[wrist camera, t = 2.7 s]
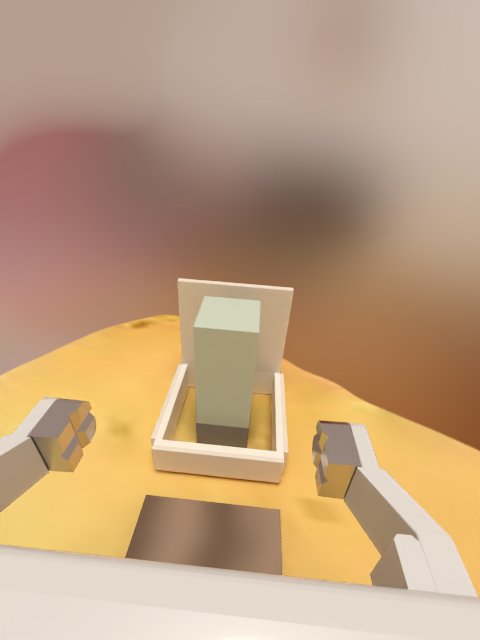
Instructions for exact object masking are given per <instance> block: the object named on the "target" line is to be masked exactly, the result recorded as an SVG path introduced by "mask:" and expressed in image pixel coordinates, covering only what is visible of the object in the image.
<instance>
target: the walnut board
mask: <svg viewBox="0 0 480 640" xmlns="http://www.w3.org/2000/svg"><path fill="white" fill-rule="evenodd" d="M125 558H130V559H139V560H148V561H157V562H166V563H175V564H184V565H193V566H202V567H211V568H220V569H229V570H238V571H247V572H256V573H265V574H274V575H282V555H281V523H280V510H277V509H268V508H259V507H250V506H241V505H232V504H223V503H214V502H205V501H196V500H187V499H178V498H169V497H160V496H151V495H146V497H145V500H144V503H143V506H142V509H141V512H140V515H139V518H138V521H137V524H136V527H135V530H134V533H133V536H132V539H131V542H130V545H129V548H128V551H127V554H126V557H125Z"/></svg>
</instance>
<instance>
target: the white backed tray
mask: <svg viewBox="0 0 480 640" xmlns="http://www.w3.org/2000/svg"><path fill="white" fill-rule="evenodd" d="M293 292H294V290H293V288H287V287H275V286H263V285H251V284H239V283H228V282H216V281H204V280H191V279H181V278H180V279H178V298H179V314H180V331H181V348H182V364H179V365H178V368H177V370H176V373H175V376H174V378H173V381H172V384H171V386H170V389H169V392H168V394H167V397H166V400H165V402H164V405H163V408H162V410H161V413H160V416H159V418H158V421H157V424H156V426H155V429H154V431H153V434H152V437H151V442H152V454H153V460H154V466H155V470H164V471H173V472H182V473H192V474H201V475H210V476H220V477H229V478H238V479H247V480H257V481H266V482H275V483H280V479H281V474H282V473H284V469H285V464H286V460H287V456H288V441H287V425H286V409H285V392H284V376H283V374H282V373H280V369H281V363H282V357H283V351H284V345H285V339H286V333H287V328H288V321H289V316H290V310H291V303H292V297H293ZM205 296H210V297H222V298H234V299H245V300H257V301H261V303H260V326H259V339H258V348H257V358H256V367H255V376H254V385H253V393H260V394H270V395H271V426H272V451H267V450H257V449H248V448H238V447H228V446H219V445H209V444H200V443H190V442H180V441H172V439H173V436H174V433H175V430H176V426H177V423H178V420H179V417H180V413H181V410H182V407H183V404H184V400H185V397H186V394H187V390H188V387H195V367H194V337H193V326H194V323H195V321H196V318H197V315H198V313H199V310H200V307H201V305H202V302H203V299H204V297H205Z"/></svg>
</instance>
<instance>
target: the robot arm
mask: <svg viewBox="0 0 480 640" xmlns="http://www.w3.org/2000/svg"><path fill="white" fill-rule="evenodd" d="M90 410H91V406H90V403H89V402H87V401H79V400H70V399H61V398H51V397H45V398H43V399H42V400H40V401H39V403H38V404H37V405H36V406H35V407H34V409H33V410H32V411H31V412H30V413H29V414H28V416H27V417H26V418H25V419H24V420H23V422H22V423H21V424H20V425H19V426H18V427H17V429H16V430H15V431H14V432H13V433H12V435H6V436H4V437H2V438H0V512H1V511H3V510H4V509H5V508H6V507H7V506H9V505H10V504H11V503H12V502H14V501H15V500H16V499H17V498H18V497H20V496H21V495H22V494H23V493H24V492H26V491H27V490H28V489H29V488H30V487H32V486H33V485H34V484H35V483H36V482H38V481H39V480H40V479H41V478H42V477H44V476H45V475H46V474H47V473H49V471H61V472H74V470H75V468H76V466H77V465H78V463H79V461H80V460H81V458H82V456H83V450H82V448H84V447H85V446H86V445H88V444H89V443H90V442H91V440H92V438H93V436H94V433H95V429H96V420H95V417H94V416H93V415H92V414H91V413H89V411H90ZM316 429H317V434H316V435H315V436H314V439H313V446H312V455H313V464H314V465H315V466H316V467H317V471H316V475H315V479H316V486H317V493H318V496H322V497H330V498H338V499H344V502H345V503H346V505H347V506H348V508H349V509H350V511H351V512H352V513H353V515H354V516H355V518H356V519H357V521H358V522H359V524H360V525H361V527H362V528H363V530H364V531H365V533H366V534H367V535H368V537H369V538H370V540H371V541H372V543H373V544H374V546H375V547H376V549H377V550H378V552H379V553H380V555H381V556H382V557H381V558H380V560H379V561H378V563H377V564H376V566H375V567H374V569H373V570H372V572H371V573H370V576H371V581H372V585H364V584H355V583H346V582H337V581H328V580H319V579H310V578H301V577H292V576H283V575H274V574H265V573H256V572H247V571H238V570H229V569H220V568H211V567H202V566H193V565H184V564H175V563H166V562H157V561H148V560H139V559H130V558H121V557H111V556H102V555H93V554H84V553H75V552H66V551H57V550H48V549H39V548H30V547H21V546H12V545H3V544H0V640H480V597H478V595H477V593H476V591H475V589H474V586H473V584H472V582H471V580H470V577H469V575H468V573H467V571H466V568H465V566H464V564H463V562H462V559H461V557H460V555H459V553H458V551H457V548H456V546H455V544H454V542H453V539H452V538H451V537H450V536H449V535H448V534H447V533H446V532H445V531H444V530H443V529H442V528H441V527H440V526H439V525H438V524H437V522H436V521H435V520H434V519H433V518H432V517H431V516H430V515H429V514H428V513H427V512H426V511H425V510H424V509H423V508H422V507H421V506H420V505H419V504H418V503H417V502H416V501H415V500H414V499H413V498H412V497H411V496H410V495H409V494H408V493H407V492H406V491H405V490H404V489H403V488H402V487H401V486H400V485H399V484H398V483H397V482H396V481H395V480H394V479H393V478H392V477H391V476H390V475H389V474H388V473H387V472H386V471H385V470H384V469H380V468H379V465H378V462H377V459H376V456H375V453H374V450H373V447H372V444H371V441H370V438H369V435H368V432H367V429H366V426H365V425H364V424H356V423H347V422H334V421H320V420H319V421H318V423H317V426H316Z"/></svg>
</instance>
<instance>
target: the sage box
mask: <svg viewBox="0 0 480 640" xmlns="http://www.w3.org/2000/svg"><path fill="white" fill-rule="evenodd" d="M260 303H261V301H257V300H245V299H234V298H222V297H210V296H205V297H204V299H203V302H202V305H201V307H200V310H199V313H198V315H197V318H196V321H195V323H194V326H193V337H194V367H195V398H196V429H197V443H204V444H213V445H223V446H232V447H242V448H247V440H248V431H249V422H250V413H251V404H252V394H253V385H254V376H255V367H256V358H257V348H258V339H259V326H260Z"/></svg>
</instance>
